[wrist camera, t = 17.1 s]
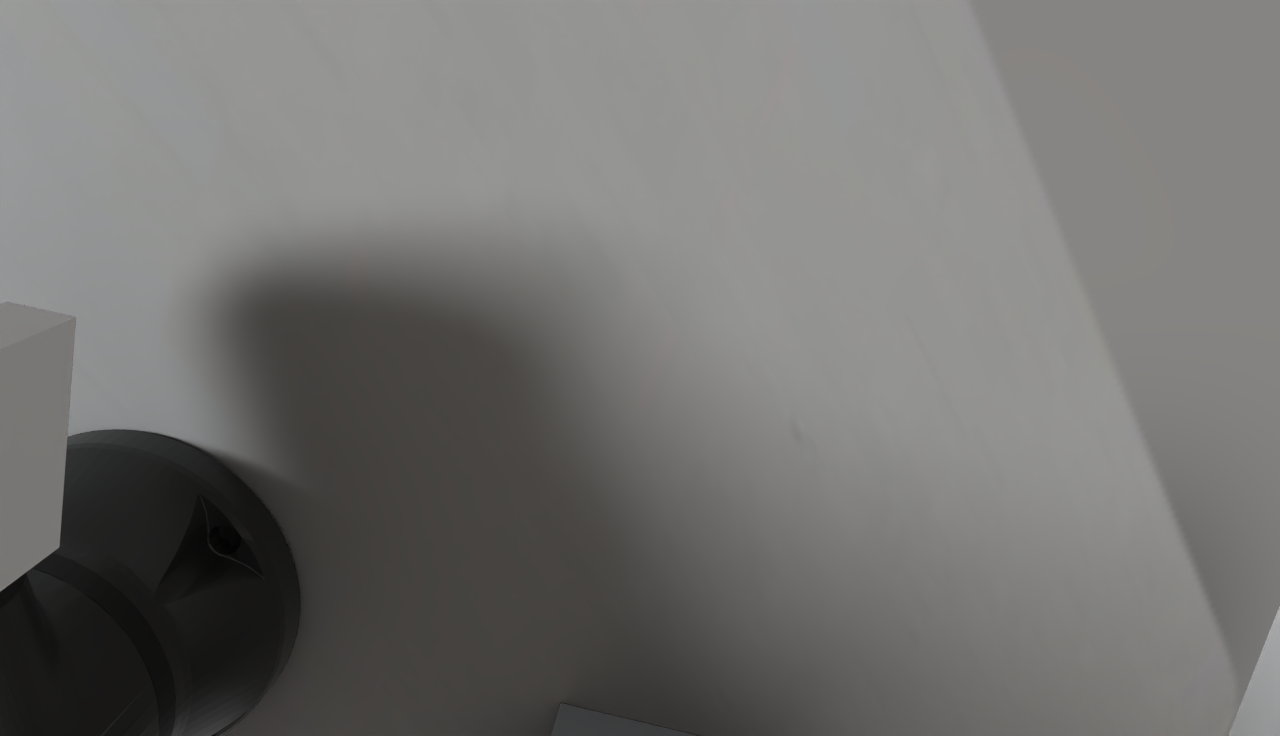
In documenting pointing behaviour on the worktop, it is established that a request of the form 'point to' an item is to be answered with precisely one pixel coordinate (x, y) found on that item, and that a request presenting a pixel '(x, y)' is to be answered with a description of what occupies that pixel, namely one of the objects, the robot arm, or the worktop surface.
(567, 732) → the breaker panel
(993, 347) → the worktop surface
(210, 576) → the robot arm
